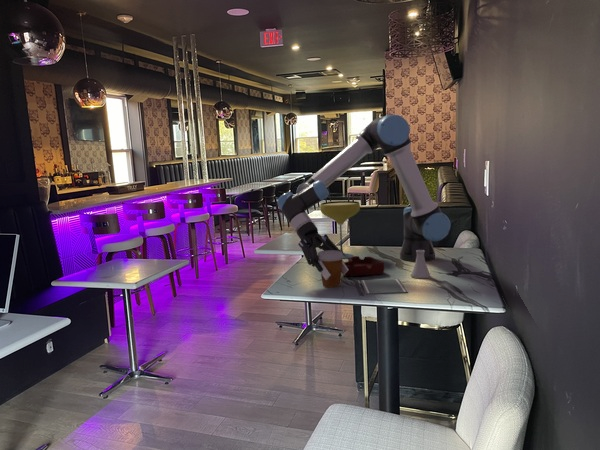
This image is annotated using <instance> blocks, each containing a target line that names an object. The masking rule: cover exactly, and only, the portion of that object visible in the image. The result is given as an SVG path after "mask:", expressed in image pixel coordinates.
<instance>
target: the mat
mask: <svg viewBox="0 0 600 450" xmlns="http://www.w3.org/2000/svg"><path fill="white" fill-rule="evenodd" d="M360 283H361V286H362V288H363V291H364V293H365V295H386V294H408V293H409V291H408V290H407V289H406V288H405V286H404V284H403V283H402V282H401V280H400V279H399V278H393V279H369V280H365V279H363V280H360Z"/></svg>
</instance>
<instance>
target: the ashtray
mask: <svg viewBox="0 0 600 450" xmlns="http://www.w3.org/2000/svg"><path fill="white" fill-rule="evenodd" d="M344 264H345V265H346V267H347V268H348V269H349V270H348V271H347V272H346V274H343V273H342V272H341V275H344V277H347V278H348V277H349V278H350V277H358V276H359V277H360V276H362V277H363V276H378V275H382V274H383V273H384V272H385V264H384V262H383V261H382V260H379V259H377V258H374V257H372V256H364V258H363V259H361V258H360V256H359V255H353V257H350V258H348V261H344Z"/></svg>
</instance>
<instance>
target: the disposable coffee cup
mask: <svg viewBox="0 0 600 450" xmlns="http://www.w3.org/2000/svg"><path fill="white" fill-rule="evenodd" d="M317 255H318V260H319V261H321V262H322V263H323V264H324V266H325V267H326V269H327V270H328V272H329V273H330V275H331V276H330V277H329V278H328V279H327V280H325V278H324V277H323V275H322V274H321V273H320V276H321V282H322V287H325V288H337V287H339V286H341V279H342V278H341V277H342V273H341V269H342V260H344V259H343V257H344V255H343V254H342V252H341V251H337V250H327V251H324V250H322V251H319V252H317ZM319 261H318V262H319Z"/></svg>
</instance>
